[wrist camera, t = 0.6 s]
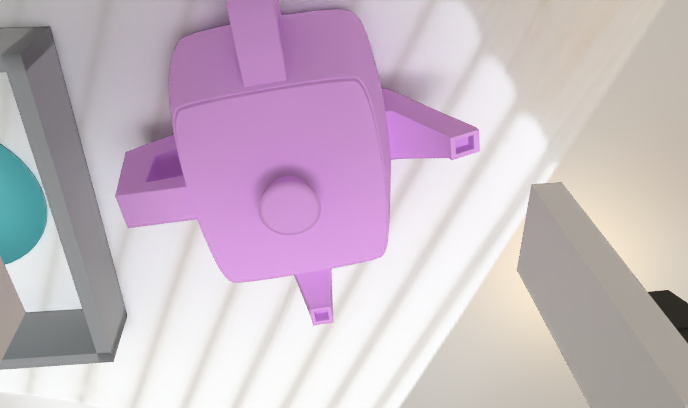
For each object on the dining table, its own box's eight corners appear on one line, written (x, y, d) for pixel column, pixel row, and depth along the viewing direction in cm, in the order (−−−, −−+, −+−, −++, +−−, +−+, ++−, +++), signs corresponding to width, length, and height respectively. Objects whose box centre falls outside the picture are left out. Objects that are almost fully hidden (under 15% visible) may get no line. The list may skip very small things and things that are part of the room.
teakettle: (243, -74, 34) (229, -27, 24) (457, 82, 41) (519, 171, 30) (116, 146, 41) (62, 256, 31) (317, 249, 47) (329, 368, 37)
